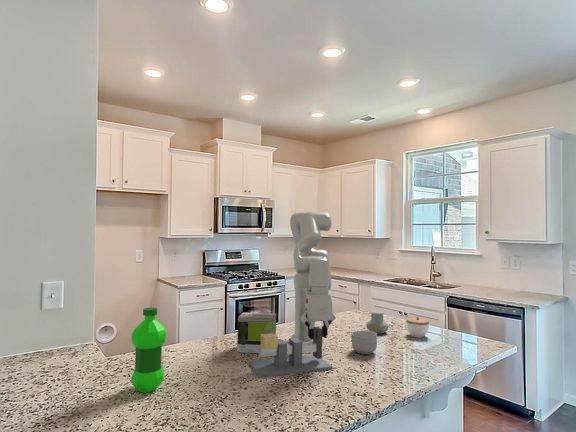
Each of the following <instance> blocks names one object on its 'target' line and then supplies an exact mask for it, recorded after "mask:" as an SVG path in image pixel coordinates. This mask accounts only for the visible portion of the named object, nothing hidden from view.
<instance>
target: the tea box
mask: <svg viewBox="0 0 576 432" xmlns="http://www.w3.org/2000/svg"><path fill="white" fill-rule="evenodd" d="M271 333H274V334H275V335H276V336H277V313H273V312H271V313H270V312H242V313H240V315H238V317H237V340H236V341H237V345H236V346H237V350H236V351H237V353H245V354H246V353H247V354H249V353H250V354H258V353H259V346H261V334H271Z"/></svg>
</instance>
